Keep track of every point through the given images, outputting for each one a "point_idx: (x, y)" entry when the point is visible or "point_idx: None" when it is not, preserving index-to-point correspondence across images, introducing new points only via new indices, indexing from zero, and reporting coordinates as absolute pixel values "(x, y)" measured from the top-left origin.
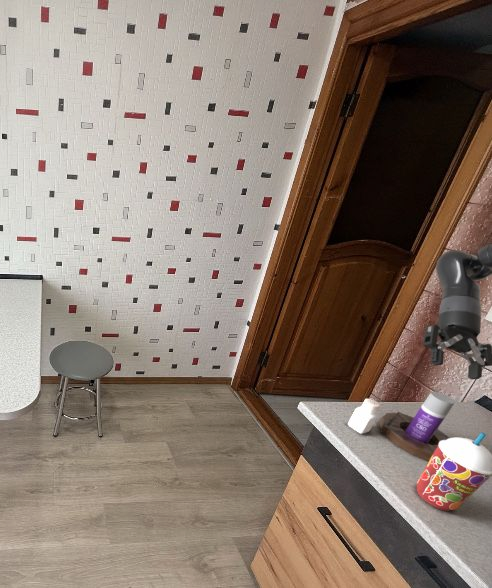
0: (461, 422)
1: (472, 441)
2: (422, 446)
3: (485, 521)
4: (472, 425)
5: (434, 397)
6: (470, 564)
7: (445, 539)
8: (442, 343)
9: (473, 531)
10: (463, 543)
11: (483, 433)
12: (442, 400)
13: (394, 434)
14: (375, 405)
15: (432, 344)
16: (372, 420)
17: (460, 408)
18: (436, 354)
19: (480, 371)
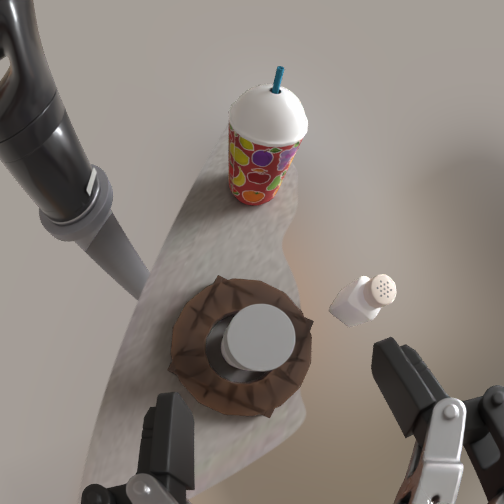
0: (119, 480)
1: (280, 93)
2: (249, 293)
3: (193, 184)
4: (101, 478)
5: (288, 320)
6: None
7: None
8: (459, 452)
9: (218, 160)
10: None
11: (280, 69)
12: (269, 309)
13: (295, 305)
14: (379, 278)
15: (491, 388)
16: (351, 287)
17: None
18: (430, 371)
19: (154, 428)
